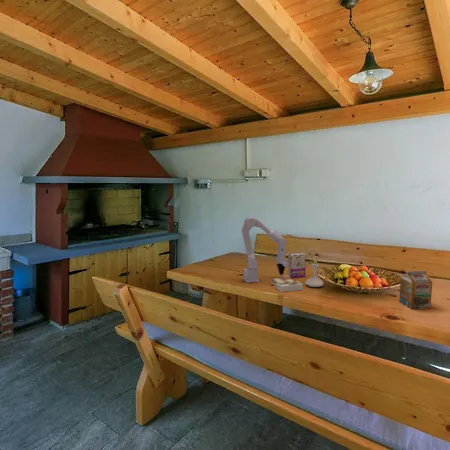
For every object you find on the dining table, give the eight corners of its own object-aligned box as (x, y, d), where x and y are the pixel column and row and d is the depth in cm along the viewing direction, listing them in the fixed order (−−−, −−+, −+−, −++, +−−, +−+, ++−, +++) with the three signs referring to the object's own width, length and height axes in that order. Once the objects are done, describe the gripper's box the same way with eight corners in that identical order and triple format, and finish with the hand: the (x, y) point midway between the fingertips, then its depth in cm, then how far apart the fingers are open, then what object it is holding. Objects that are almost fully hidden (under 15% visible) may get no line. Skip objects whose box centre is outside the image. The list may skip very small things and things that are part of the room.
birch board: (277, 287, 206) (277, 283, 205) (271, 283, 215) (271, 278, 215) (294, 286, 208) (295, 281, 208) (288, 281, 218) (288, 277, 218)
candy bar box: (302, 275, 233) (302, 252, 230) (305, 277, 228) (305, 254, 226) (287, 276, 230) (288, 253, 228) (290, 278, 225) (291, 255, 223)
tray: (281, 292, 197) (281, 286, 197) (276, 288, 205) (276, 282, 204) (302, 289, 201) (302, 284, 200) (297, 286, 208) (297, 280, 208)
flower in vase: (316, 282, 216) (317, 245, 213) (327, 287, 205) (328, 248, 202) (299, 284, 211) (300, 247, 208) (310, 289, 201) (311, 250, 197)
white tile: (280, 284, 203) (280, 287, 203) (283, 287, 198) (283, 290, 199) (287, 284, 204) (287, 287, 204) (290, 286, 199) (290, 289, 200)
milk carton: (417, 301, 179) (420, 268, 176) (430, 308, 168) (433, 273, 166) (399, 301, 179) (401, 268, 176) (410, 309, 168) (413, 274, 166)
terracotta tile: (283, 279, 212) (283, 276, 211) (281, 277, 216) (281, 275, 216) (290, 279, 213) (290, 276, 213) (287, 277, 217) (287, 274, 217)
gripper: (291, 257, 213) (291, 276, 215) (282, 252, 227) (282, 271, 229) (281, 257, 212) (281, 277, 213) (273, 253, 226) (273, 272, 227)
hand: (281, 274), depth 221 cm, fingers closed
